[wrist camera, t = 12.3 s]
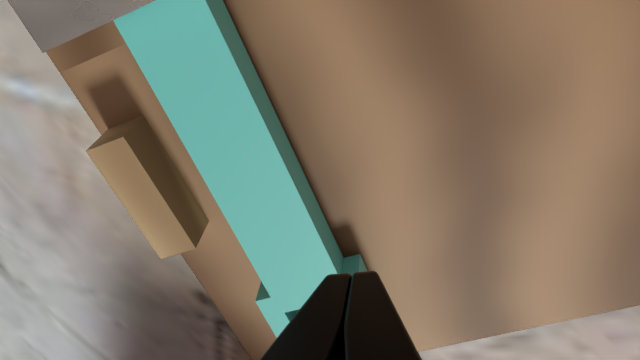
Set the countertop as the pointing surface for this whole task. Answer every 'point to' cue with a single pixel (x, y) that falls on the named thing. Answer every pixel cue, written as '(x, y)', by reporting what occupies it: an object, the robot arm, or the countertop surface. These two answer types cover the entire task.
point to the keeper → (68, 17)
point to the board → (411, 154)
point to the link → (237, 147)
